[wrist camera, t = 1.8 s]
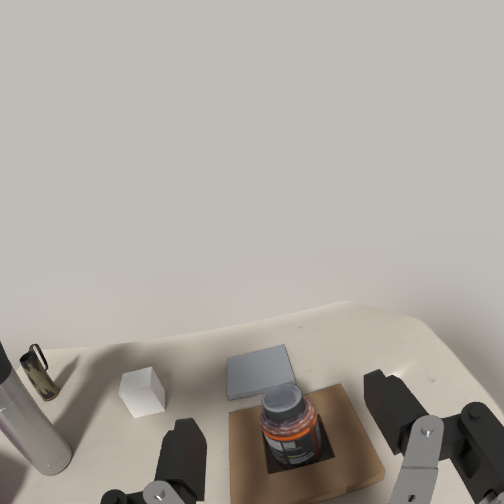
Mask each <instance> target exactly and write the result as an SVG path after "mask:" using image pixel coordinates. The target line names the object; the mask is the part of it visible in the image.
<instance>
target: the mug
mask: <svg viewBox="0 0 504 504" xmlns="http://www.w3.org/2000/svg"><path fill="white" fill-rule="evenodd" d="M34 345H35V346H36V348H37V350H38V352H39V354H40V356H41V358H42V360H43V362H44V364H45V366H46V369H44V368H43V366H42V364H41V362H40V361H39V359H38V357H37V355H36V353H35V351H34V349H33V346H34ZM20 363H21V365H22V367H23V369H24V371H25V373H26V375H27V376H28V378H29V380H30V382H31V383H32V385H33V386H34V388H35V389H36V391H37V392H38V394H39V395H40V396H41V397H42V399H43V400H44V401H50V400H52V399H54V398H55V397H56V396H57V395H58V394H59V389H58V388H57V386H56V385H55V384H54V383H53V381H52V380H51V378H50V377H49V375H48V374H47V372H46V370H47V369H48V364H47V361H46V359H45V357H44V355H43V353H42V351H41V349H40V347H39V345H38V344H32V345H31V346H30V348H29V351H28V353H26V354H24V355H23V356H22V357H21V358H20Z"/></svg>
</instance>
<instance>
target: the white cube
mask: <svg viewBox="0 0 504 504" xmlns="http://www.w3.org/2000/svg"><path fill="white" fill-rule="evenodd" d="M118 394H119V395H120V397H121V399H122V400H123V402H124V403H125V405H126V406H127V408H128V409H129V411H130V412H131V413H132V415H133V416H134V418H136V417H141V416H145V415H150V414H155V413H159V412H163V411H165V390H164V388H163V386H162V384H161V383H160V381H159V379H158V377H157V375H156V373H155V371H154V369H153V368H152V366H151V367H147V368H144V369H140V370H136V371H132V372H128V373H124V374H123V375H122V379H121V383H120V388H119V392H118Z"/></svg>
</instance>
